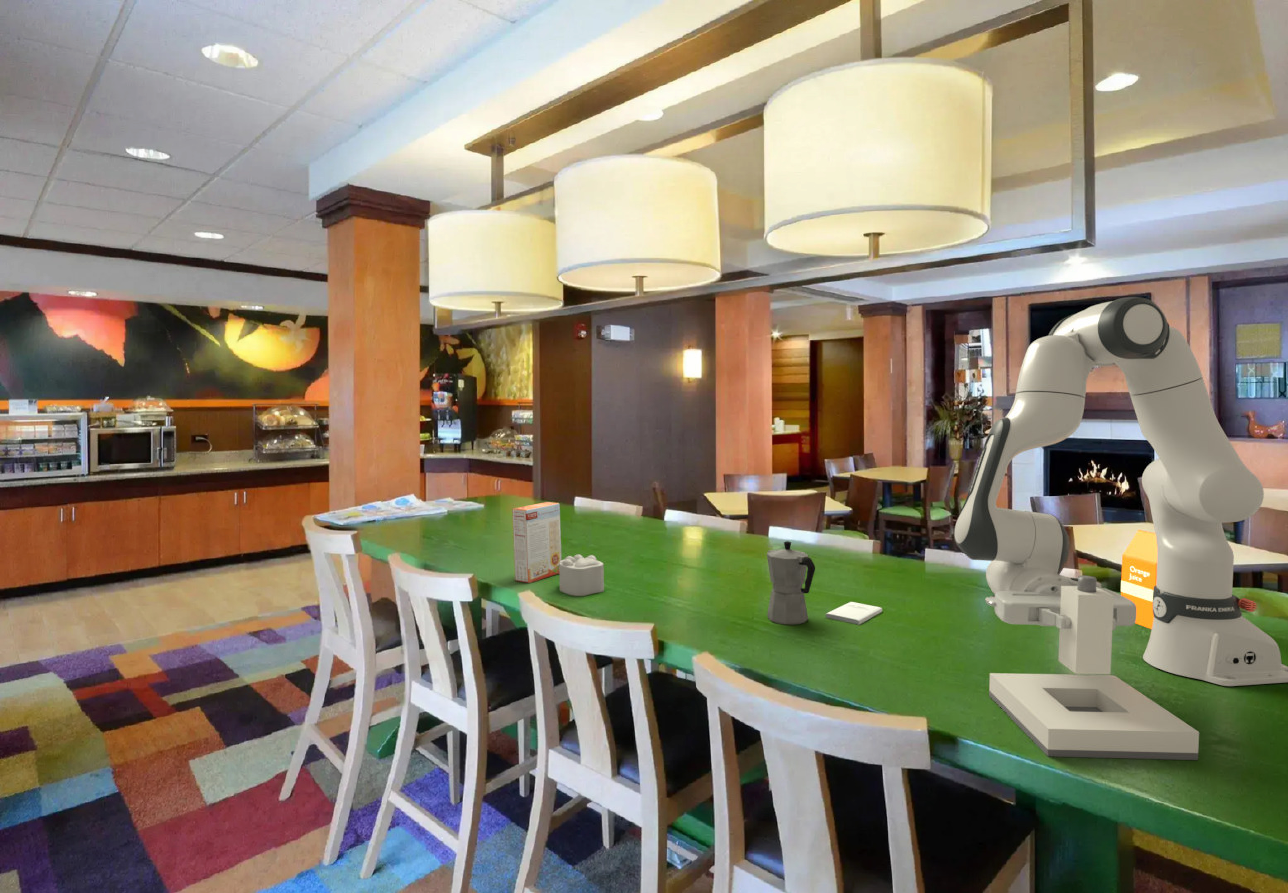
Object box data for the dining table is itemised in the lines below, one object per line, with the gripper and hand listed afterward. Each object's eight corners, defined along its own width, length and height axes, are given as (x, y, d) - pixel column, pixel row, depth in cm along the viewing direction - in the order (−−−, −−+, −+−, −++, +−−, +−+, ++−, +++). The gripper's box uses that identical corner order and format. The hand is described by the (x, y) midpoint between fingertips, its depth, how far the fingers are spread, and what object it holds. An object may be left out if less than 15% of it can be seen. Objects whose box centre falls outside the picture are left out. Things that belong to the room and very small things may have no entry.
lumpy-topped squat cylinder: (575, 597, 182) (574, 564, 181) (550, 587, 192) (550, 555, 191) (609, 590, 188) (608, 558, 187) (583, 580, 198) (582, 550, 198)
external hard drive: (825, 619, 162) (849, 607, 172) (859, 627, 157) (882, 613, 166) (825, 613, 162) (849, 600, 172) (859, 620, 157) (882, 607, 166)
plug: (1091, 661, 110) (1095, 573, 109) (1110, 674, 105) (1114, 582, 104) (1058, 661, 110) (1061, 573, 109) (1075, 673, 105) (1078, 581, 104)
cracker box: (547, 570, 210) (546, 501, 209) (562, 573, 207) (561, 502, 205) (513, 580, 199) (511, 507, 198) (528, 583, 195) (526, 509, 194)
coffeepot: (753, 614, 165) (753, 538, 164) (784, 608, 170) (784, 534, 169) (797, 633, 152) (797, 550, 151) (830, 625, 156) (830, 546, 155)
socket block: (1113, 698, 117) (1114, 675, 117) (1197, 760, 98) (1199, 732, 97) (989, 696, 119) (989, 673, 119) (1047, 756, 99) (1048, 728, 99)
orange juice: (1153, 630, 151) (1156, 537, 149) (1119, 617, 160) (1122, 530, 158) (1184, 627, 152) (1188, 536, 151) (1149, 615, 161) (1152, 528, 159)
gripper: (981, 579, 121) (1017, 602, 107) (1106, 580, 119) (1159, 605, 105) (980, 615, 121) (1016, 643, 107) (1105, 617, 119) (1157, 646, 106)
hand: (1088, 624), depth 106 cm, fingers closed on plug, 5 cm apart
